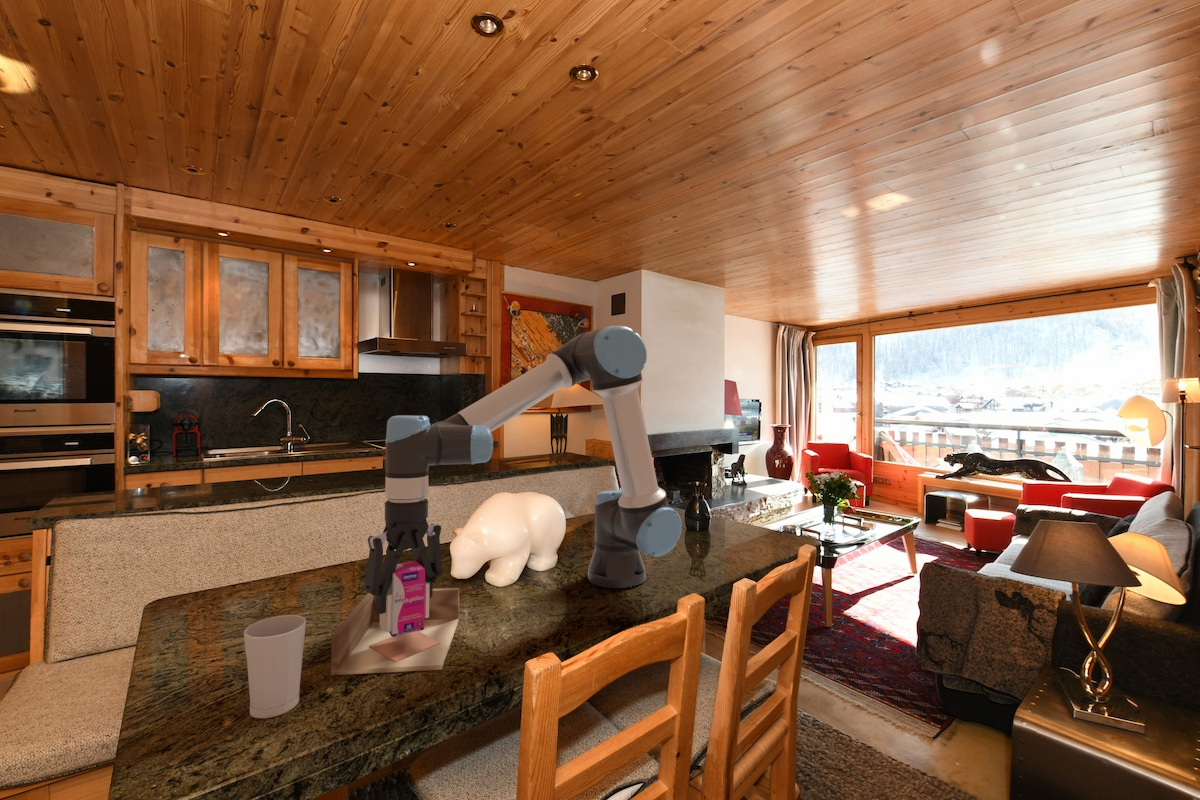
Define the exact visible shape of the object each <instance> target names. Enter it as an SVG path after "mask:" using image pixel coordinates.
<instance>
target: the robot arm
mask: <svg viewBox="0 0 1200 800" xmlns="http://www.w3.org/2000/svg"><path fill="white" fill-rule="evenodd" d="M647 358H648V353H647V347H646V344H645V342H644V340H643V339H642V337H641V335H640V334H638V333H637V332H636V331H634V330H633V329H632V328H630V327H628V326H625V325H609V326H606V327H603V328H598V329H594V330H590V331H586V332H583V333H580V334H578V335H577V336H575V337H573V338H572V339H571V340H569V341H568V342H566V343H565V344H563V345H562V346H560V347H558V348H557V349H555V350H554V351H552V352H551V353H549V354H547V356H546V359H545V361H544V362H542V363H540V364H538V365H537V366H535V367H533V368H532V369H529V370H528V371H526V372H525V373H523V374H522V375H520V376H518V377H516V378H514V379H513V380H512V381H509V382H508V383H506V384H504V385H503V386H501V387H499V388H497V389H495V390H494V391H493V392H491V393H489V394H487V395H486V396H484V397H481V399H479V400H477V401H475V402H473V403H472V404H470V405H468V406H467V407H464V409H462V410H459V411H458V412H457V413H455V414H453V415H452V416H450V417H448V418H447V419H445V420H443V421H437V422H435V423H433V424H431V423H430V417H428V416H427V415H393V416H391V417H389V418H388V420H387V421H386V423H387V424H386V432H385V433H386V434H385V435H386V437H385V440H384V441H385V483H384V485H385V486H384V487H385V488H384V489H385V493H384V495H385V498H386V499H387V500H386V501H385V503H384V522H385V526H384V528H383V532H382V533H380V534H378V535H376V536H374V535H370V536H368V538H367V543H368V547H369V553H368V560H367V561H368V562H367V570H366V577H365V585H364V586H365V587H364V591H365V593H367V594H368V593H370V594H372V595H376V612H378V613H380V629H382V630H384V631H386V632H390V631H391V627H392V594H390V593H388V591H389V588H390V585H391V582H392V575H393V573H394V572H395V569H396V566H397V564H399V560H400V558H401V557H402V556H403V553H404V552H405V551H407V550H410V549H411V550H412V553H413V555H414V559H415V561H416V562H418V563H419V564H420V565H421V566H422V567H423V568H424V569H425V604H424V618H428V617H429V598H431V597H432V594H433V589H434V588H433V587H434V583H436V582H437V580H438V579H437V577H440V576H442V574H443V564H442V563H443V562H442V552H441V539H440V537H441V531H442V526H441V525H439V524H435V523H428V521H427V518H428V516H429V500H428V499H427V498H426V497H428V496H429V468H430V466H440V465H441V466H442V465H447V466H448V465H475V464H482V463H487V462H489V461H490V459H491V458H492V455H493V450H494V439H493V433H492V432H494V431H495V430H497V429H498V428H499V427H501V426H503V425H504V424H506V423H508V422H509V421H511V420H513V419H514V418H516V417H517V416H519V415H520V414H523V413H524V412H525V411H527V410H529V409H530V408H532V407H534V406H535V405H537V404H539V402H541V401H543V400H545V399H546V398H548V397H550V396H551V395H552V394H555V393H556V392H557V391H559V390H561V389H567V390H568V389H571V388H572V387H574V386H575V385H577V384H580V383H582V382H587V381H590V382H591V387H592V391H593V392H594V393H596V394H597V395H598V396H600V397H601V401H602V407H603V411H604V414H605V418H606V419H605V420H606V423H607V424H606V425H607V428H608V433H609V434H608V435H609V438H610V441H611V447H612V450H613V456H614V461H615V465H616V469H617V474H618V479H619V483H620V489H617V490H616V489H615V490H614V489H613V490H604V491H600V492H598V493H597V494H595V495H596V496H595V501H594V502H595V503H594V549H593V553H592V556H591V559H590V561H589V566H588V569H587V579H588V582H589V583H591V584H593V585H595V586H599V587H602V588H608V589H628V588H627V587H630V588H633V587H632V586H635V587H637V586H636V585H638V586H640V585H639V584H641V583H642V584H644V583H645V582H646V580H645V579H647V578H646V573H647V571H646V567H645V564H644V561H643V558H642V555H641V554H644V555H647V556H651V557H661V556H664V555H667V554H669V552H671V551H672V550H673V549H674V548H675V547H676V545H677V542H678V541H679V540H680V538H681V535H682V529H683V526H682V525H683V524H682V519H681V516H680V513H679V512H677V511H676V510H675V509H674V508H672V507H670V505H669V501H668V497H667V493H666V490H664V489H663V488H661V487H659V485H658V481H657V476H656V469H655V466H654V459H653V455H652V452H651V447H650V442H649V437H648V433H647V428H646V423H645V417H644V413H643V409H642V408H643V407H642V404H641V398H640V395H639V390H638V389H639V387H640V385H641V384H642V382H643V375H642V371H643V370H644V368H645V364H646V363H647ZM425 535H426V543H427V550H426V544H425V542H424V537H425ZM385 541H386V542H387V543H388V544H387V546H386V544H385ZM385 546H386V549H385V554H386V555H385V557H384V556H383V555H384V547H385ZM426 551H427V552H426ZM383 557H384V561H383ZM382 563H383V564H382ZM644 581H645V582H644ZM643 582H644V583H643ZM642 584H641V585H642Z"/></svg>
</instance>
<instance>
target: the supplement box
mask: <svg viewBox="0 0 1200 800" xmlns="http://www.w3.org/2000/svg"><path fill="white" fill-rule="evenodd" d="M388 593H390V594H392V627H391V631H390V632H389V633H390V635H391V636H392V637H394V636H398V635H402V634H406V633H410V632H415V631H421V630H424V604H425V569H424V568H423V567H422V566H421V565H420V564H419V563H418V562H416V560H413V561H409V562H408V561H407V562H401V563H397V566H396V569H395V572H394V573H393V575H392V582H391V585H390V588H389V591H388Z"/></svg>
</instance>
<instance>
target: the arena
mask: <svg viewBox="0 0 1200 800" xmlns="http://www.w3.org/2000/svg"><path fill="white" fill-rule="evenodd" d="M459 622H460V587H445V588H442V587H441V588H433V594H432V597H431V598H429V617H428V618H424V630H421V631H415V632H410V633H406V634H402V635H398V636H394V637H392V636H391V635H390V633H389V632H386V631H384V630H382V629H380V613H378V612H376V595H372V594H370V593H367V594H366V595H365V596H363V598H362V599H361V600H360V601H359V602H358V604H357V605H356V606H355V607H354V608H353V609H352V610H351V612H350V613H349V614H348V615H347V616H346V617H345V618H344V620H343V621H342V622H341V623H340V624H339V625H338V627H337V628H336V629H335V630H334V631H333V632H332V634H331V635H330V636H331V638H330V639H331V640H330V641H331V642H330V648H331V649H330V653H331V654H330V657H331V658H330V676H342V675H344V676H345V675H358V674H359V675H362V674H374V673H375V674H380V673H399V672H401V673H402V672H421V671H422V672H423V671H437V670H439V671H440V670H442V669H443V667H444V663H445V661H446V658H447V656H448V655H447V654H448V653H449V649H450V647H451V644H452V641H453V638H454V635H455V633H456V629H457V627H458V625H459Z"/></svg>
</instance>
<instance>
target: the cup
mask: <svg viewBox="0 0 1200 800" xmlns="http://www.w3.org/2000/svg"><path fill="white" fill-rule="evenodd" d="M306 626H307V619H306V618H305V617H304V616H302V615H297V614H284V615H277V616H272V617H267V618H264V619H261V620H258V621H256V622H254V623H252V624H250V625H249V626H247V627H246V628H245V629H244V630H243V637H244V639H243V640H244V649H245V650H244V651H245V656H246V667H247V677H248V689H249V715H250V716H251V717H253V718H256V719H268V718H273V717H277V716H280V715H283V714H285V713H287V712H289V711H290V710H292V709H294V708H295V707H296V706H297V705H298V704H299V702H300V688H301V686H300V685H301V677H302V676H301V675H302V674H301V673H302V667H303V665H302V664H303V655H304V654H303V653H304V643H305V636H306V635H305V634H306Z"/></svg>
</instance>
